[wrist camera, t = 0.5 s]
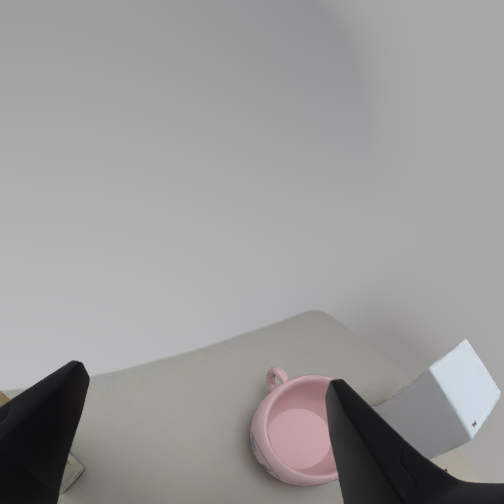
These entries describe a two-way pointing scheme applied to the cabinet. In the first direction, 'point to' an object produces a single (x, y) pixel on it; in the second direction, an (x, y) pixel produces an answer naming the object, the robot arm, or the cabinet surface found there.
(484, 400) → the white packaging box
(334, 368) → the cabinet surface
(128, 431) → the cabinet surface
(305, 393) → the mug
